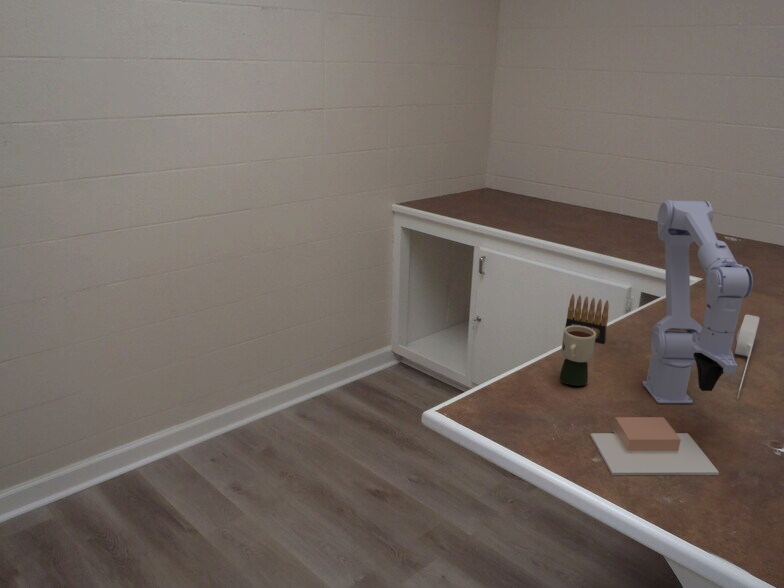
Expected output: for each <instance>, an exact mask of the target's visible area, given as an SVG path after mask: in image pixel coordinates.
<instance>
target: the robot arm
mask: <svg viewBox="0 0 784 588" xmlns="http://www.w3.org/2000/svg"><path fill="white" fill-rule="evenodd" d="M713 218H714V208H713V205H712V204H711V202H710V201H709V200H702V201H699V200H673V199H672V200H671V199H665V200H663V201H662V203H661V204H660V205H659V210H658V212H657V234H658V235H657V236H658V240H661V241H662V242H664V254H665V256H664V257H665V262H664V265H665V267H664V268H665V312H666V313H665V316H664V317H663V318H662V319H660V320H659V321H658V322H656V323H655V324H654V325H653V327H652V337H651V342H650V343H651V345H650V348H651V352H652V355H651V357H650V360H649V365H648V370H647V375H646V380H643V381H642V382H641V383H642V385H643V386H644V388H645V389H646V390H647V391H648V392H649V394H650V395H651V396H652V398H653V399H654V400H655V401H656V403H658V404H693V403H694V401H693V399H692V398H691V397H690V396H689V395H688V394H687V390H688V387H689V381H690V376H691V371H692V365H696V369H697V379H698V380H697V381H698V388H699V389H700V391H702V392H712V391H713V390H714V388H715V386H716V384H717V382H718V381H719V379H720V378H721V376H722V375H723V374H724V375H736V374H737V369H738V366H739V365H738V364H737V362H736V361H735V358H734V354H733V350H732V348H733V347H732V345H733V342H734V338H735V334H736V329H737V325H738V320H739V317H740V312H741V308H742V303H743V299H746V298H748V297H749V296H750V295H751V292H752V290H753V284H754V280H753V279H754V277H753V273H752V271H751V269H750V267H748V266H743V264H739V263H738V261H736V259H735V257H734V255H733V253H732V252H731V249H730V248H729V246H728V245H727V243H726V242H725V241H722V240H719V239H718V237H717V235H716V232H715V230H714V227H713V224H712V223H713ZM694 242H695V245H697V246H698V251H697V254H696V256H697V258H698V259H697V260H699V263H700V265H701V267H702V269H703V271H704V273H705V275H706V277H705V290H706V292H705V297H704V299H705V302H706V303H707V304H706V307H705V312H704V317H703V320H702V321H703V322H702V325H701V324H700V323H699V322H697V320H695V319H694V318H692V317H691V287H690V286H691V284H690V283H691V282H690V281H691V279H690V277H691V275H690V246H691V244H692V243H694ZM669 330H670V331H669ZM673 330H674V331H673ZM679 330H680V331H679Z"/></svg>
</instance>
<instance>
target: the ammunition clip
mask: <svg viewBox="0 0 784 588" xmlns="http://www.w3.org/2000/svg"><path fill="white" fill-rule="evenodd" d="M575 301H576V305H575ZM602 302H603V301H602V299H601V298H599V300H598V302H597V306H596V300H595V297H593V298H592V299H591V301H590V305H589V298H588V296H585V298H584V302H583V305H582V296H581V294H580V295H578V298H577V300H575V294H574V293H573V294H571V297H570V300H569V306H568V309H567V317H566V321H565V327H568V326H573V325H576V326H585V327H588V328H591V329H592V330H594V331H595V332H596V338H595V343H596V344H601V345H605V344H606V340H607V329H608V320H609V308H610V307H609V305H610V304H609V300H606V301H605V303H604V306H603V305H602ZM602 306H603V307H602ZM595 307H596V308H595ZM602 308H603V310H602ZM565 327H564V328H565Z"/></svg>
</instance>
